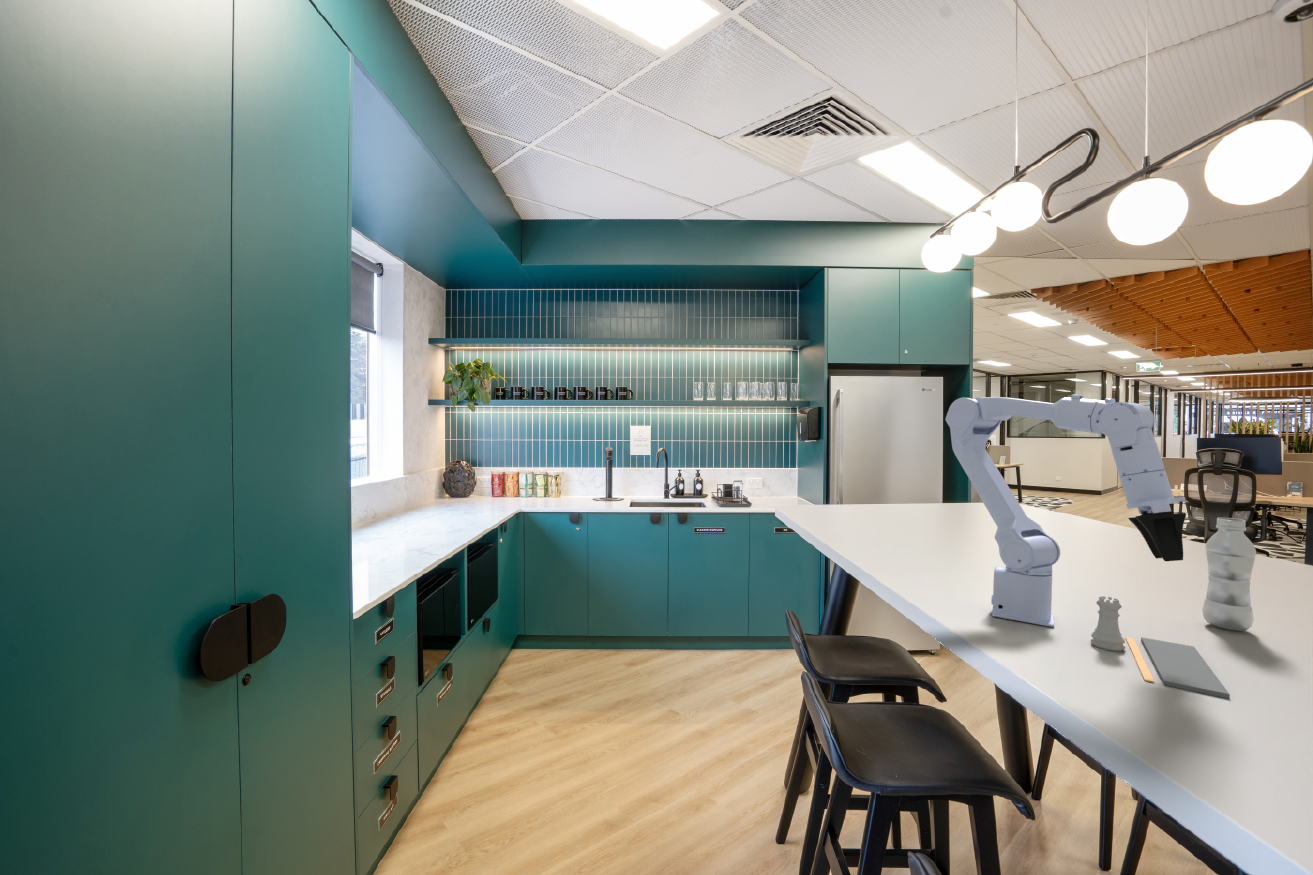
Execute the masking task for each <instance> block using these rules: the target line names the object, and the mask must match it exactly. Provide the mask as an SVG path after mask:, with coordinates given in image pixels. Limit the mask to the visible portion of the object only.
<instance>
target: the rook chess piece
mask: <svg viewBox="0 0 1313 875" xmlns="http://www.w3.org/2000/svg"><path fill="white" fill-rule="evenodd" d="M1096 605H1098V608H1099V609H1098V611H1097V614H1098V620H1097V621H1098V622H1097V626H1096V628H1095V629H1094V631H1093V632H1092V633H1091V635H1090V637H1091V639H1090V643H1092V645H1093V647H1096V648H1098V649H1101V650H1104V651H1108V652H1123V651H1124V650H1125V649H1126V646H1125V645H1124V644H1125V642H1126V641H1125V640H1126V639H1125V638H1124V637H1123V636H1122V633H1121V631H1120V626H1119V617H1120V613H1119V610H1120V609H1122V607H1123V606H1122V605H1121V603H1120V599H1118V598H1115V597H1114V598H1113V597H1111V596H1108V597H1107V598H1106V596H1103V595H1102V596H1099V597H1098V600H1097V601H1096Z"/></svg>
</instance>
